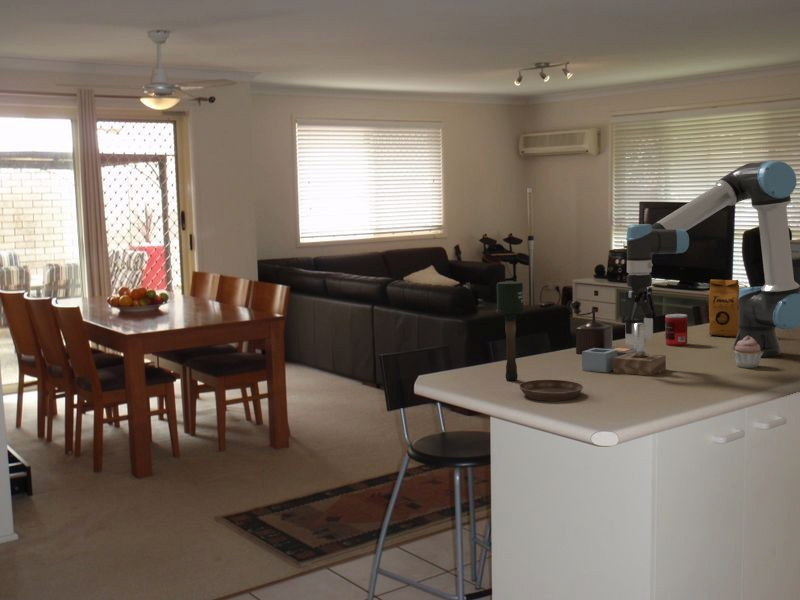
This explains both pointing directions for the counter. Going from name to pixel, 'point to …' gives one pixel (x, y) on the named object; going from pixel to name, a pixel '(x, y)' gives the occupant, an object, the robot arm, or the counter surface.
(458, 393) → the counter surface
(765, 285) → the robot arm
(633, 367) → the socket block
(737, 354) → the cupcake
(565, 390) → the plant saucer
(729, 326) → the coffee package
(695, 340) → the counter surface
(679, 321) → the canned food
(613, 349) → the orange square block
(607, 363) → the blue square collar
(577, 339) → the manual coffee grinder
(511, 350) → the potato masher grenade
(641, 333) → the peg
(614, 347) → the housing
